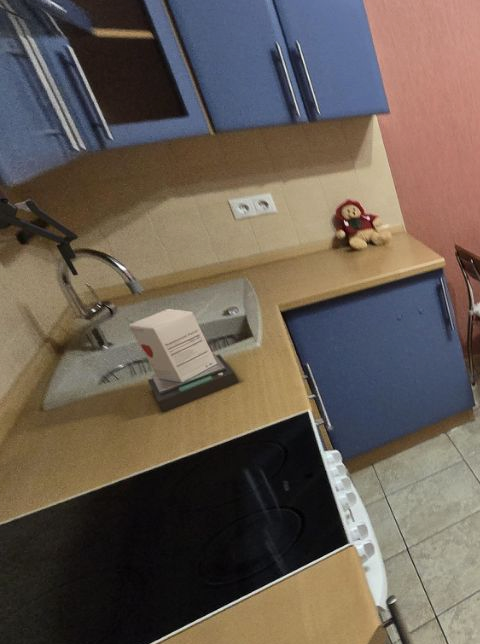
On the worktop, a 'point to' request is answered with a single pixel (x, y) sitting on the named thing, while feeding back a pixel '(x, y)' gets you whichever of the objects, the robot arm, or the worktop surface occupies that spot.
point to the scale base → (195, 388)
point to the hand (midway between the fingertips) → (31, 284)
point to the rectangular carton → (173, 344)
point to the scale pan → (171, 385)
